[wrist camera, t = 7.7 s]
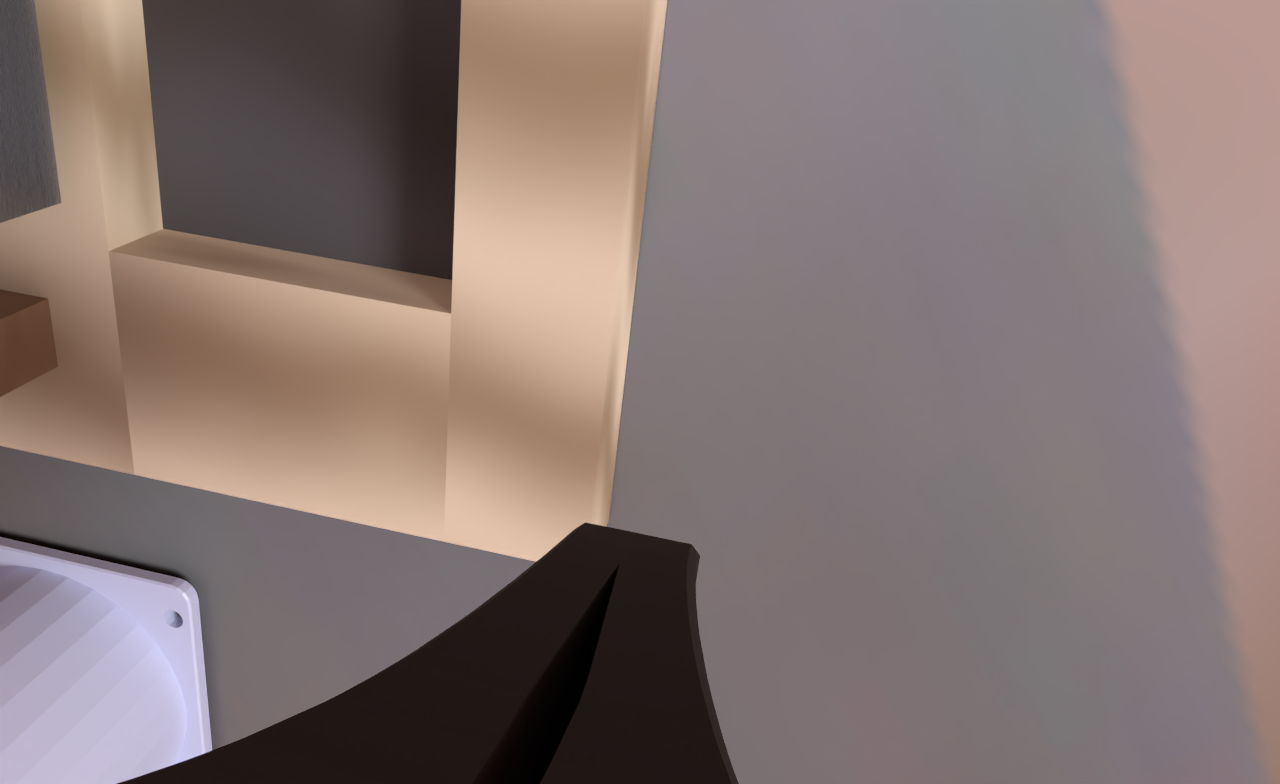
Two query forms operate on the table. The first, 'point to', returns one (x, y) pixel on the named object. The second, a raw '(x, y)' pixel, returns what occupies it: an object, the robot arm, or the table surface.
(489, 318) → the deck
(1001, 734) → the table surface
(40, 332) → the tunnel
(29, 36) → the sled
